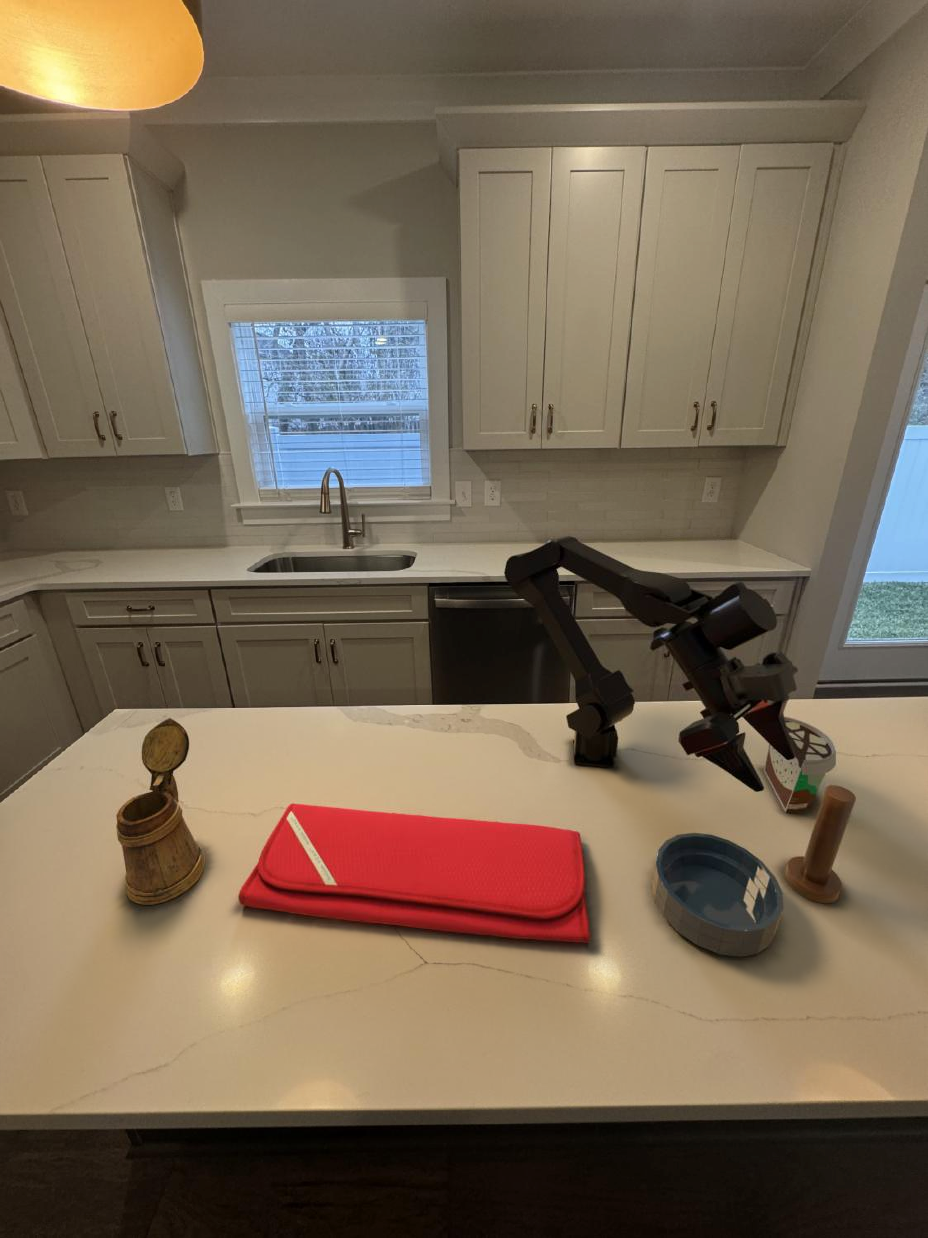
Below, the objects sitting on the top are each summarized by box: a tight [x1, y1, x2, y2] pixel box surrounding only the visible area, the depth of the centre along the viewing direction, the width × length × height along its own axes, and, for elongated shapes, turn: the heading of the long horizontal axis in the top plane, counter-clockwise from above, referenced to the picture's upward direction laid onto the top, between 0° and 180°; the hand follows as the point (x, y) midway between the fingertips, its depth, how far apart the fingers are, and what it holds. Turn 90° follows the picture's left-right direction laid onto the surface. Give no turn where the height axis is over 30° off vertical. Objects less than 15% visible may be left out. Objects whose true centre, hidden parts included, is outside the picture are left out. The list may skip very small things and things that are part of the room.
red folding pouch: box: [238, 802, 591, 944], centre depth 64 cm, size 16×41×4 cm, turn 83°
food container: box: [763, 716, 837, 814], centre depth 75 cm, size 12×6×10 cm, turn 168°
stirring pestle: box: [784, 784, 857, 904], centre depth 60 cm, size 6×6×14 cm
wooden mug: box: [115, 717, 206, 906], centre depth 64 cm, size 9×14×18 cm, turn 1°
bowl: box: [651, 832, 784, 958], centre depth 59 cm, size 13×13×4 cm
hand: (776, 774), depth 63 cm, fingers open, 9 cm apart
